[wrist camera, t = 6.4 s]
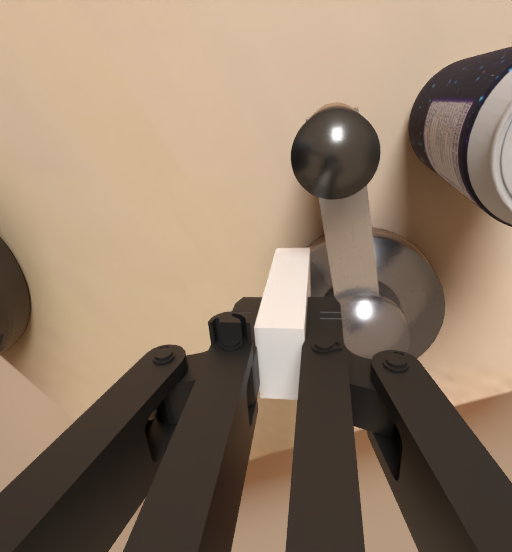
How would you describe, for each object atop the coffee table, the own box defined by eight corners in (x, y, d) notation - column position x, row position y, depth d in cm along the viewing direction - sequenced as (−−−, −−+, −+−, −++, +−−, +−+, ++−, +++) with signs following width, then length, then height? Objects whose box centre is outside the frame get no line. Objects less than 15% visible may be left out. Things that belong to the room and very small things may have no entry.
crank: (404, 342, 25) (437, 459, 17) (325, 349, 26) (321, 460, 18) (381, 90, 19) (414, 89, 11) (282, 114, 21) (250, 128, 13)
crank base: (286, 354, 29) (283, 374, 27) (281, 227, 25) (276, 239, 23) (427, 361, 28) (435, 383, 26) (446, 225, 23) (457, 238, 21)
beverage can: (492, 181, 22) (641, 265, 11) (391, 160, 22) (444, 222, 12) (542, 69, 19) (797, 41, 9) (428, 48, 20) (537, -3, 9)
